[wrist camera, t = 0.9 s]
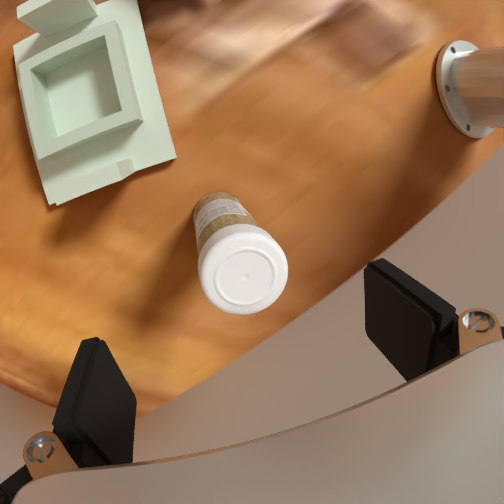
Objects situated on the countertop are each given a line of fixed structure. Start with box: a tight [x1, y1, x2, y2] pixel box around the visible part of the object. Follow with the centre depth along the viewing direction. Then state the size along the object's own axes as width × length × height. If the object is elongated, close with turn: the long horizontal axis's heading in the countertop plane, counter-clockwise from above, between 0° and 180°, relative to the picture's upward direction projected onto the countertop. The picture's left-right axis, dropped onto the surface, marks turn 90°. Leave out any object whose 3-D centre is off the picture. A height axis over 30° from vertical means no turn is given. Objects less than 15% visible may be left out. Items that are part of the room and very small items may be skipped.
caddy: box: [13, 0, 177, 205], centre depth 19 cm, size 12×16×7 cm
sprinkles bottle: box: [193, 192, 288, 315], centre depth 22 cm, size 5×5×14 cm
